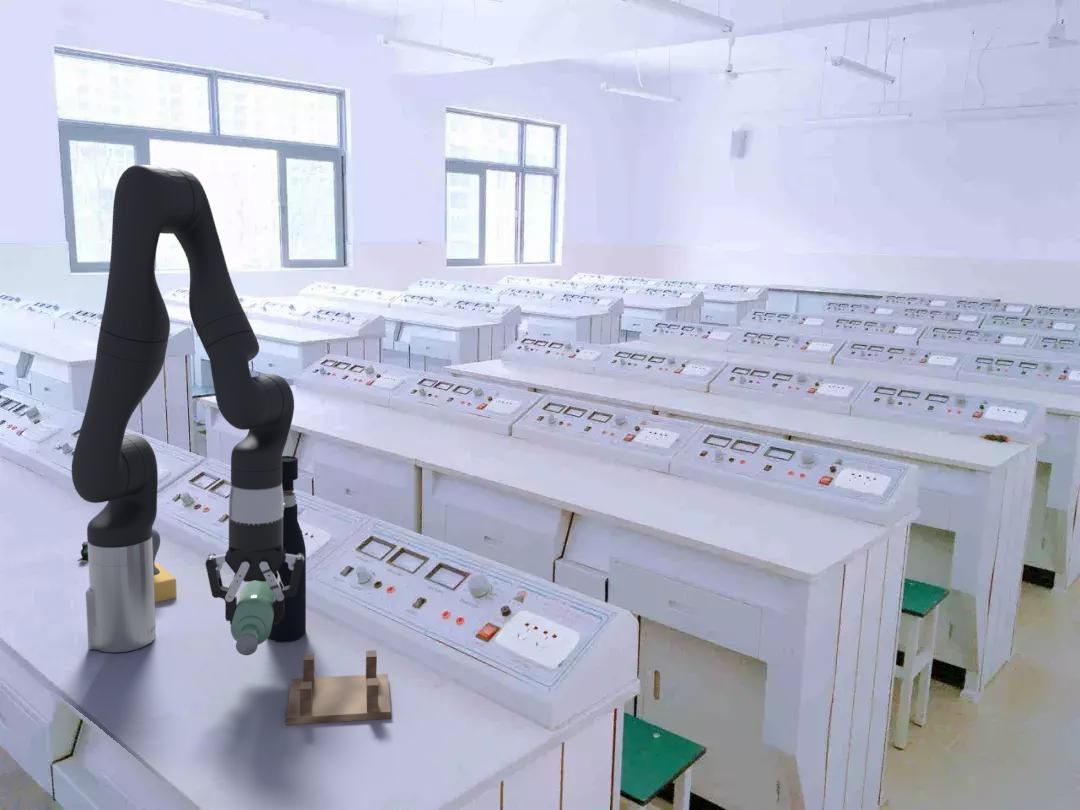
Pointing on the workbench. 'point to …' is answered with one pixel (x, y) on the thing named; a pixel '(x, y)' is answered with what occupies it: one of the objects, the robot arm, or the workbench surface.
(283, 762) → the workbench surface
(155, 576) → the rubber stamp
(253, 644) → the green bottle
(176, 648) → the workbench surface
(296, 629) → the wine bottle
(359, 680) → the u rest
